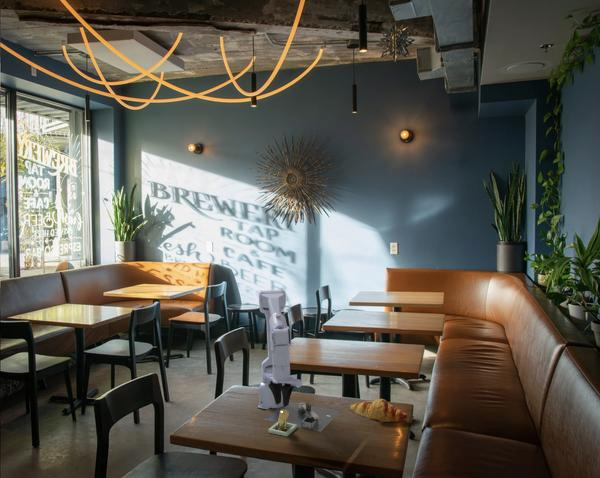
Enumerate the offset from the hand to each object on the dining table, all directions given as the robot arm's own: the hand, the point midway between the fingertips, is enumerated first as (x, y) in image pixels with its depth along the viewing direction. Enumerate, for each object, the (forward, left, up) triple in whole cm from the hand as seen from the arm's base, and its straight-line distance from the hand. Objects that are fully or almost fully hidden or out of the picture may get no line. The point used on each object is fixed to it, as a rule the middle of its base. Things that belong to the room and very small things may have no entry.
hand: (282, 404), depth 164 cm
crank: (+3, +12, -9) cm, 16 cm away
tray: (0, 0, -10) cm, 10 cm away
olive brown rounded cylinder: (-1, 0, -8) cm, 8 cm away
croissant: (+25, +25, -10) cm, 37 cm away
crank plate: (+1, +13, -10) cm, 16 cm away
